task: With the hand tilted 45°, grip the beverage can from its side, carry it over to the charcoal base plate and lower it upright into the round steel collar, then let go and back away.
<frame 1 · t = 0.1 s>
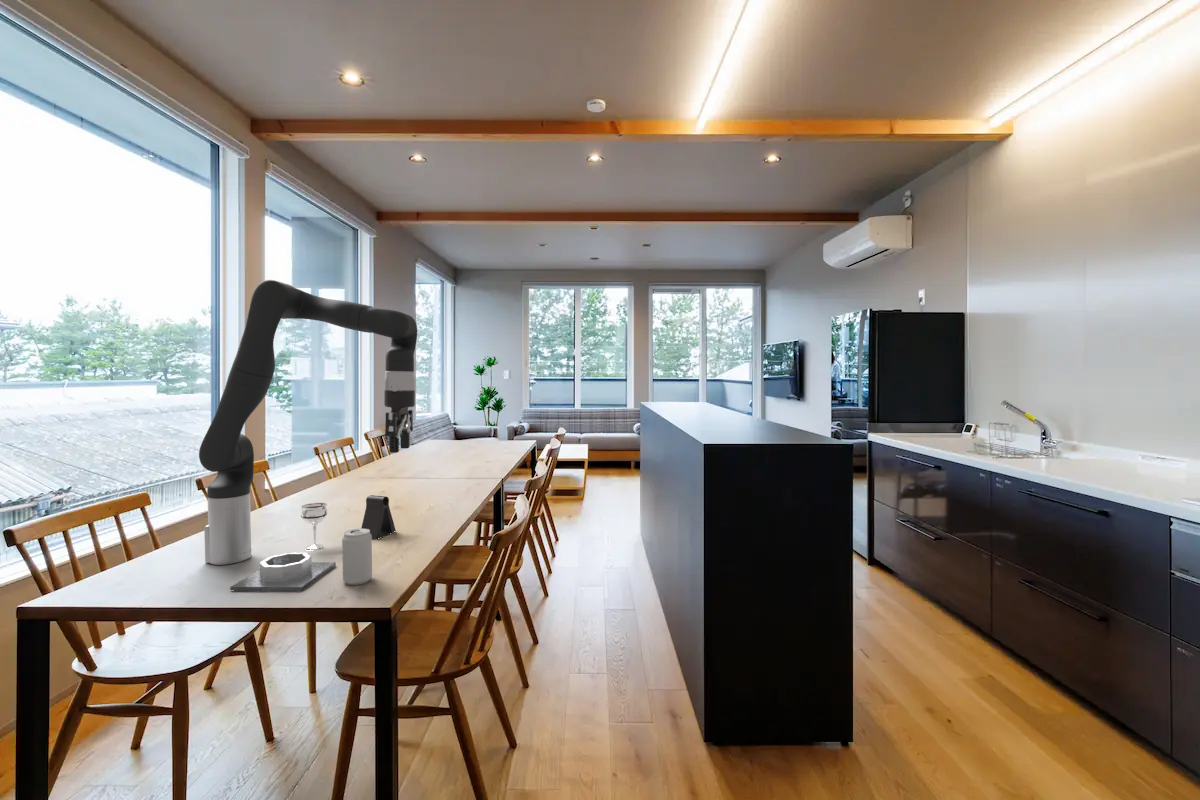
hand: (399, 450, 141), 29 cm above the table, tool pointing down, fingers open, 8 cm apart
beverage can: (357, 582, 127), on the table
phone stand: (378, 535, 164), on the table
wineglass: (315, 548, 152), on the table
collar stand: (286, 577, 129), on the table
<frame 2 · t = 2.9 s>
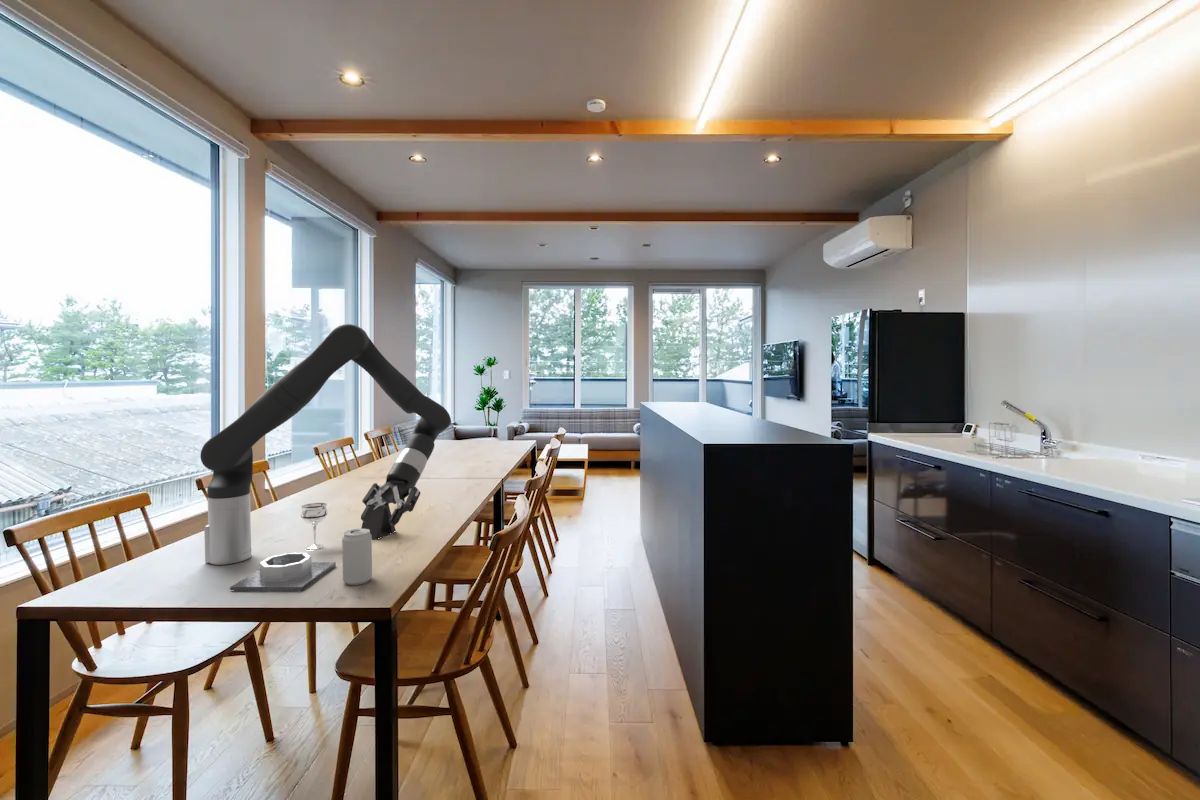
hand: (377, 522, 133), 12 cm above the table, tool tilted 45°, fingers open, 8 cm apart
nothing on the table moved.
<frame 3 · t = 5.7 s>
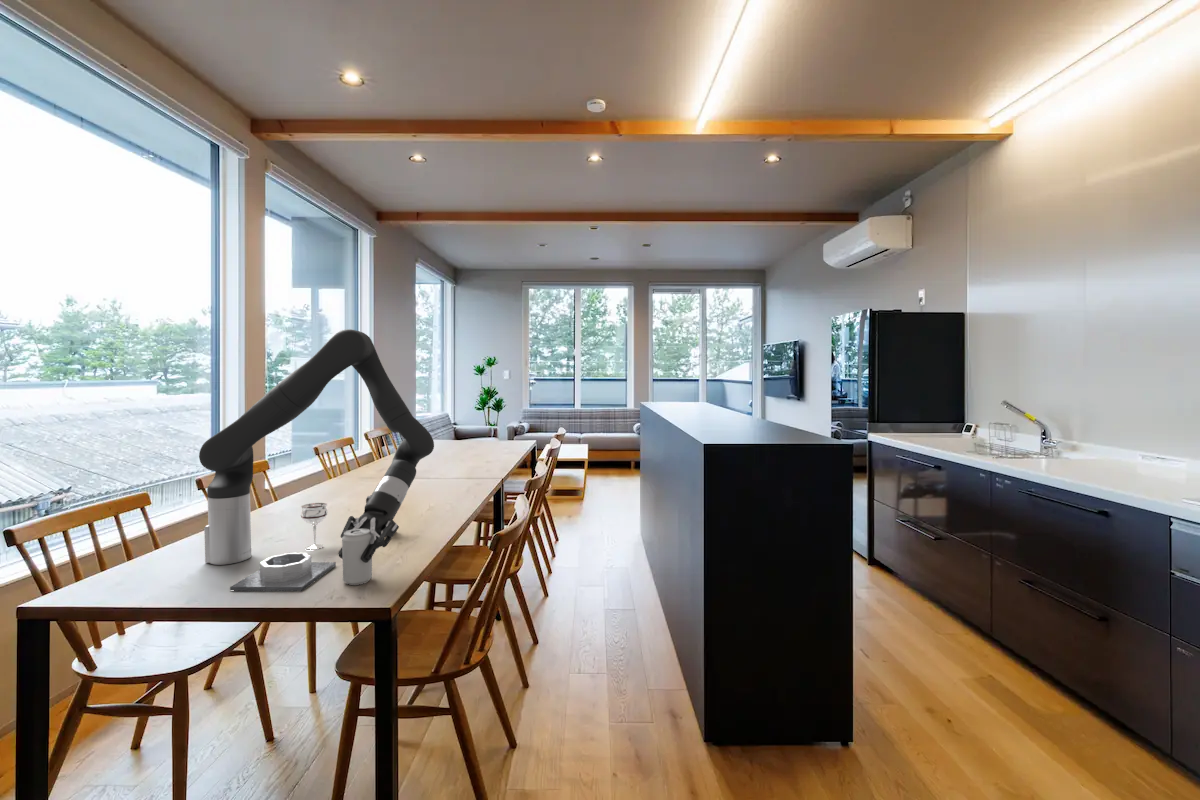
hand: (352, 559, 125), 6 cm above the table, tool tilted 45°, fingers closed on beverage can, 6 cm apart
beverage can: (357, 581, 127), on the table, touching gripper
everything else where it was.
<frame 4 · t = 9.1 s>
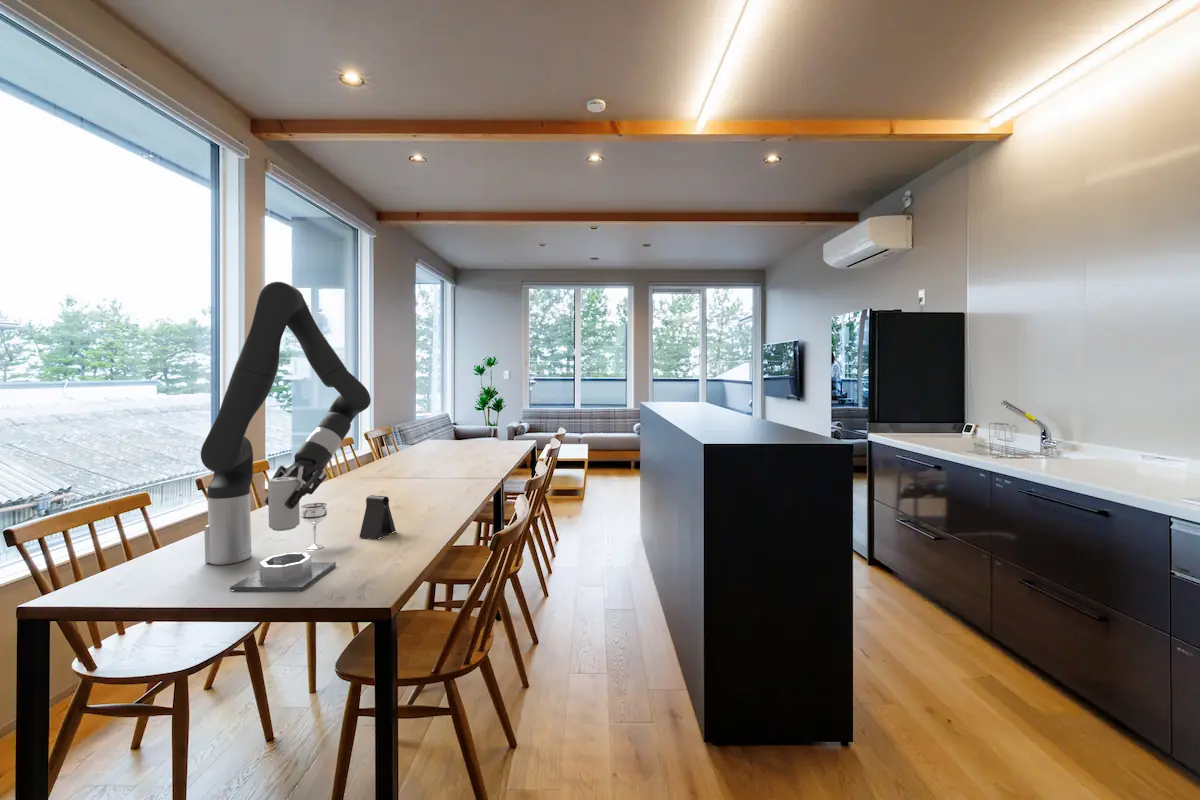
hand: (278, 505, 127), 18 cm above the table, tool tilted 45°, fingers closed on beverage can, 6 cm apart
beverage can: (284, 528, 128), point 12 cm above the table, touching gripper
everything else where it was.
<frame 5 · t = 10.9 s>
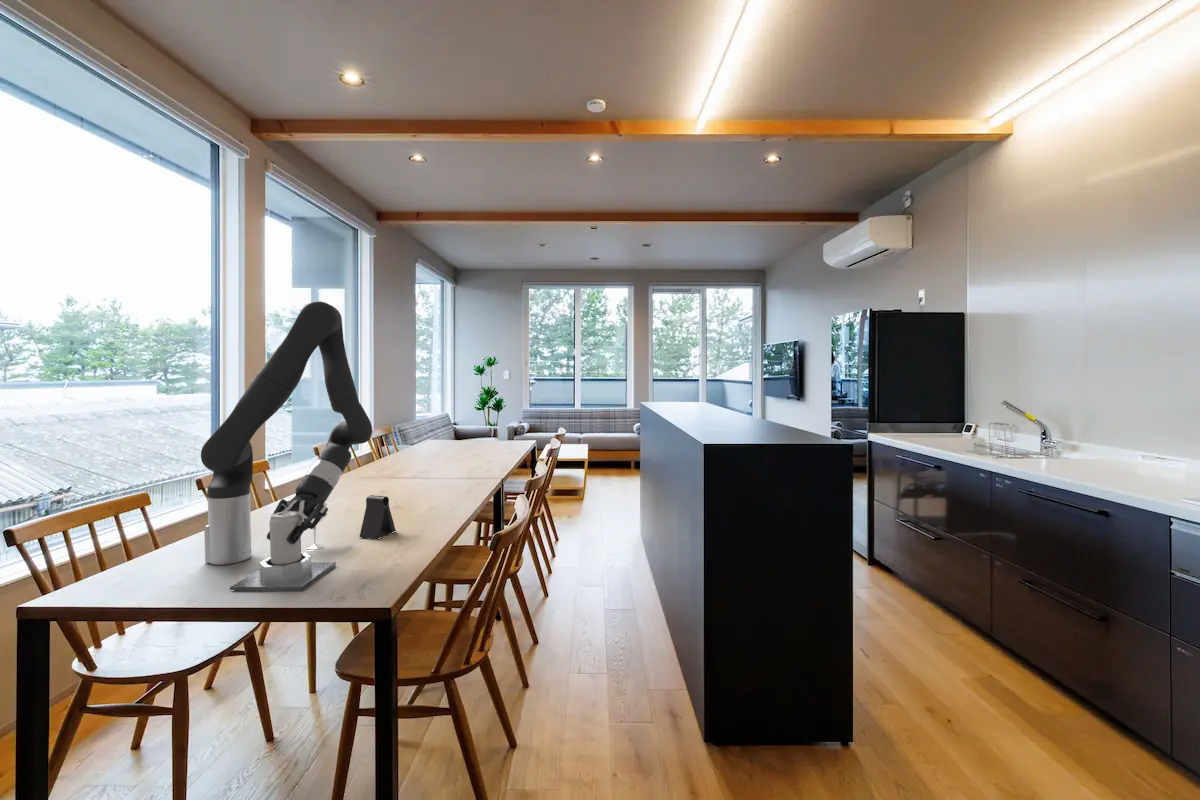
hand: (280, 540, 127), 9 cm above the table, tool tilted 45°, fingers closed on beverage can, 6 cm apart
beverage can: (286, 563, 129), point 3 cm above the table, touching gripper
everything else where it was.
when the fingers open (8 cm above the table, at t = 12.4 s): beverage can moves 1 cm, resting on collar stand.
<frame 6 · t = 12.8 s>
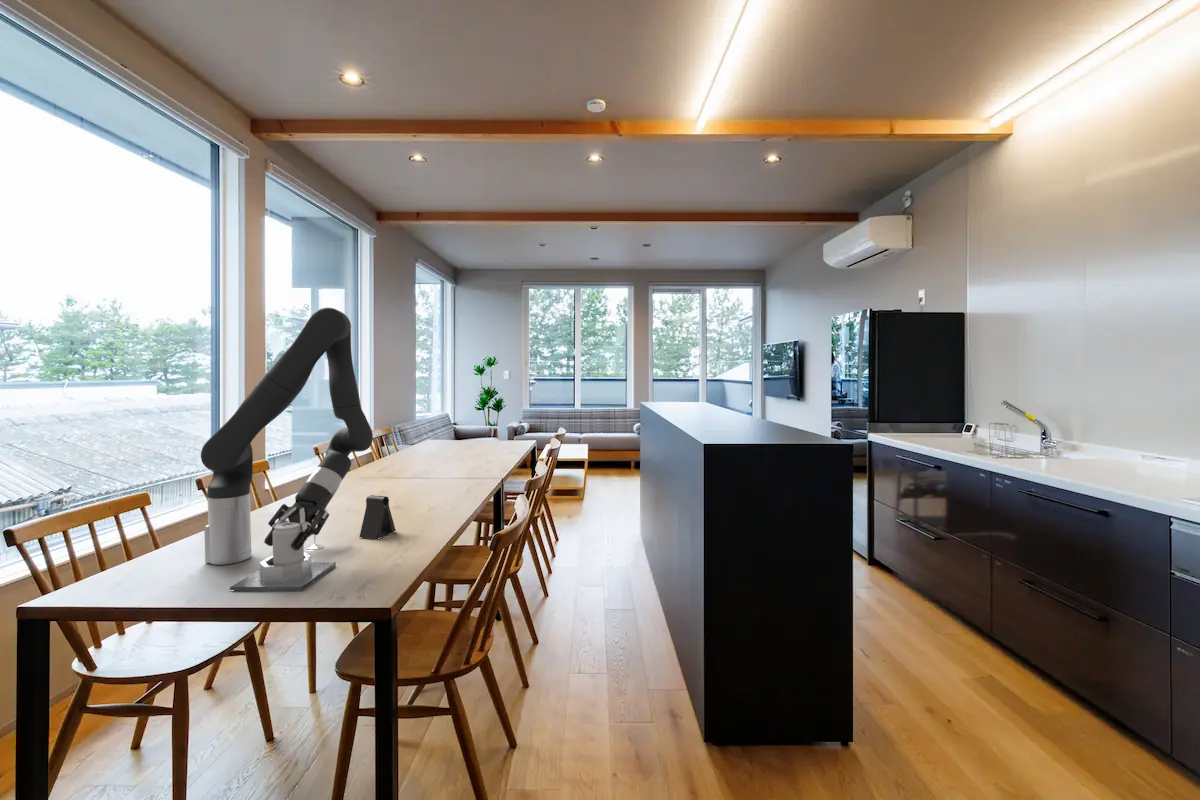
hand: (280, 546, 127), 8 cm above the table, tool tilted 45°, fingers open, 8 cm apart
beverage can: (289, 574, 129), point 1 cm above the table, touching collar stand, gripper
everything else where it was.
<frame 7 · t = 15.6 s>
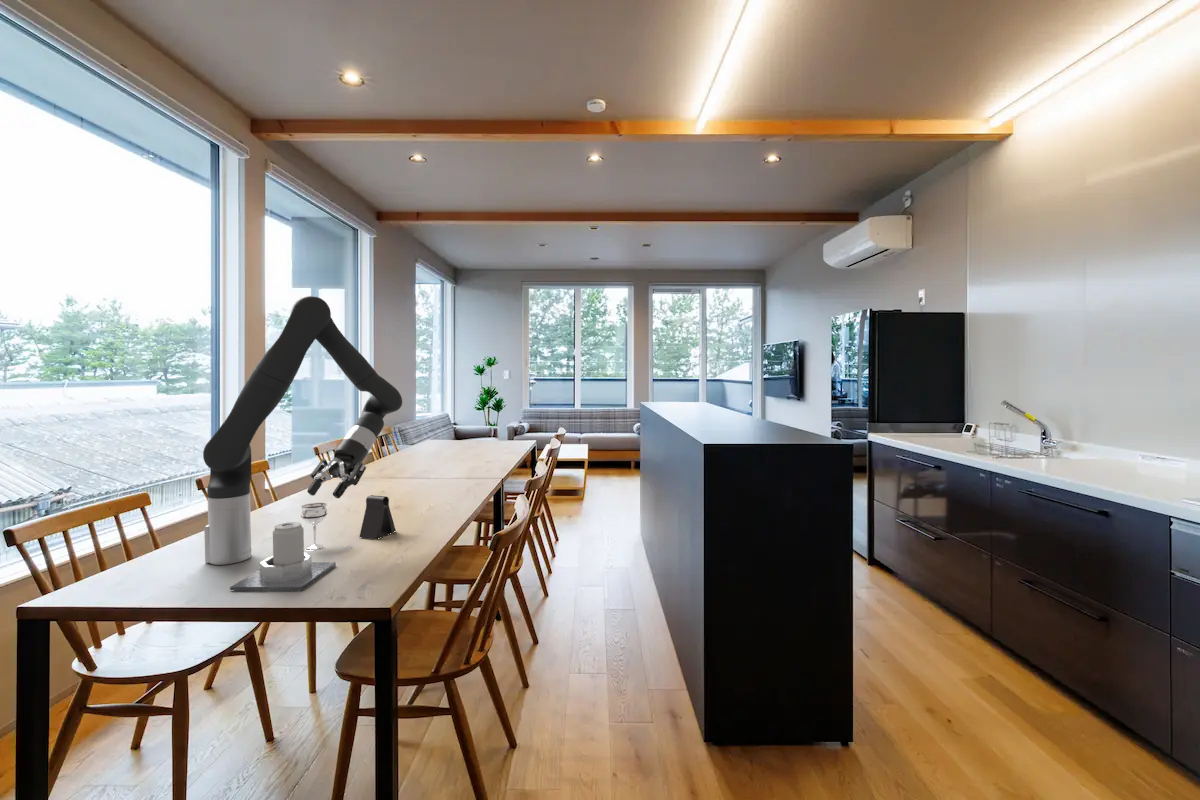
hand: (322, 495, 139), 18 cm above the table, tool tilted 45°, fingers open, 8 cm apart
beverage can: (289, 574, 129), point 1 cm above the table, touching collar stand
everything else where it was.
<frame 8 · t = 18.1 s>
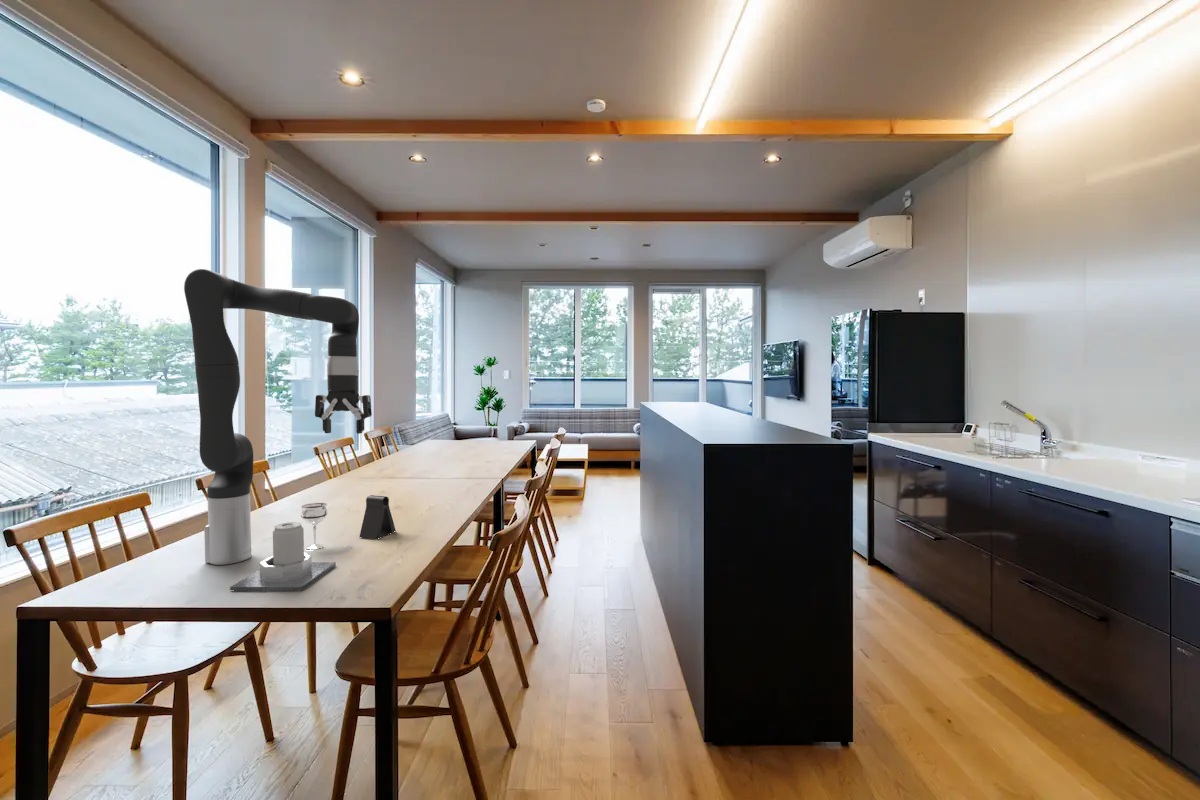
hand: (343, 433, 145), 33 cm above the table, tool pointing down, fingers open, 8 cm apart
nothing on the table moved.
at the end: beverage can 0.8 cm off-centre on the collar stand, point 0.8 cm above the collar stand's base; beverage can tilted 0°; the gripper is holding nothing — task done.
